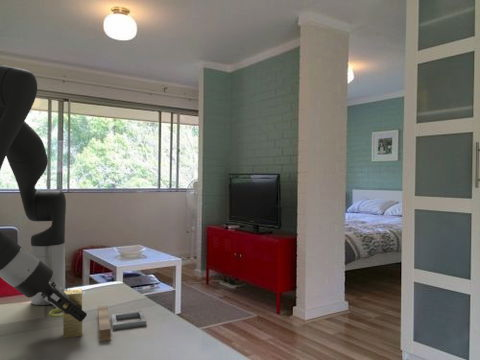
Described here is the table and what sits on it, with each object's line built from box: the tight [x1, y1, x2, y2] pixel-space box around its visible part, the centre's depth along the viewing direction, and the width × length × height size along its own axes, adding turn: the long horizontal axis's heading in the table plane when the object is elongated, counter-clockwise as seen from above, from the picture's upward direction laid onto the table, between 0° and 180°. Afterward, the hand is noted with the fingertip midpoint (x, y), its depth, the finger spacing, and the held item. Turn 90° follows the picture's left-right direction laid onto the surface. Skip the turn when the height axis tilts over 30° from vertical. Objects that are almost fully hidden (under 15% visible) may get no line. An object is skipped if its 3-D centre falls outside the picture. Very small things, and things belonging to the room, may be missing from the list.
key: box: [48, 302, 63, 318], centre depth 113 cm, size 7×12×2 cm, turn 52°
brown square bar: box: [97, 305, 112, 342], centre depth 101 cm, size 18×2×2 cm, turn 20°
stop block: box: [62, 288, 83, 339], centre depth 96 cm, size 4×4×10 cm
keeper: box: [110, 310, 147, 331], centre depth 104 cm, size 8×8×1 cm
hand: (79, 313), depth 97 cm, fingers open, 7 cm apart
